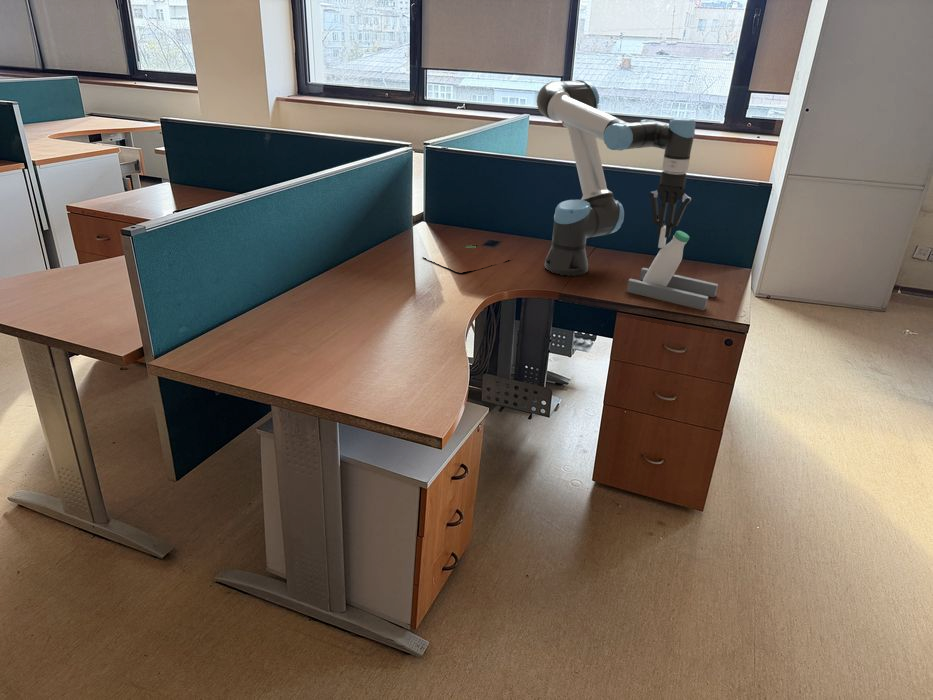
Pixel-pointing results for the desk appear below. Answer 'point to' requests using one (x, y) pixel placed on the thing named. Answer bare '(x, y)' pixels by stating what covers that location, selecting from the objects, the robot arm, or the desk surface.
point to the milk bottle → (667, 260)
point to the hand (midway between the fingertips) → (661, 246)
